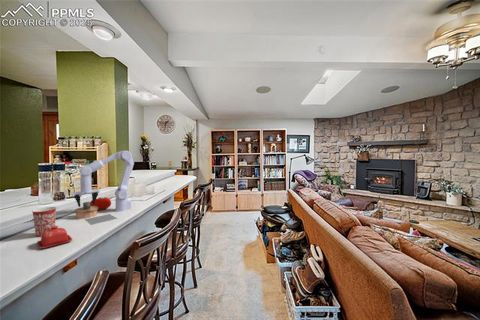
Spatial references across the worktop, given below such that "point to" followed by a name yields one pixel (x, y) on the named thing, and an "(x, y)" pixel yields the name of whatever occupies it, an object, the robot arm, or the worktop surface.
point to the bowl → (86, 215)
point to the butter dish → (53, 237)
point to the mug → (43, 219)
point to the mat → (100, 219)
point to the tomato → (102, 203)
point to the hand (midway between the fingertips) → (86, 205)
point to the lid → (86, 208)
